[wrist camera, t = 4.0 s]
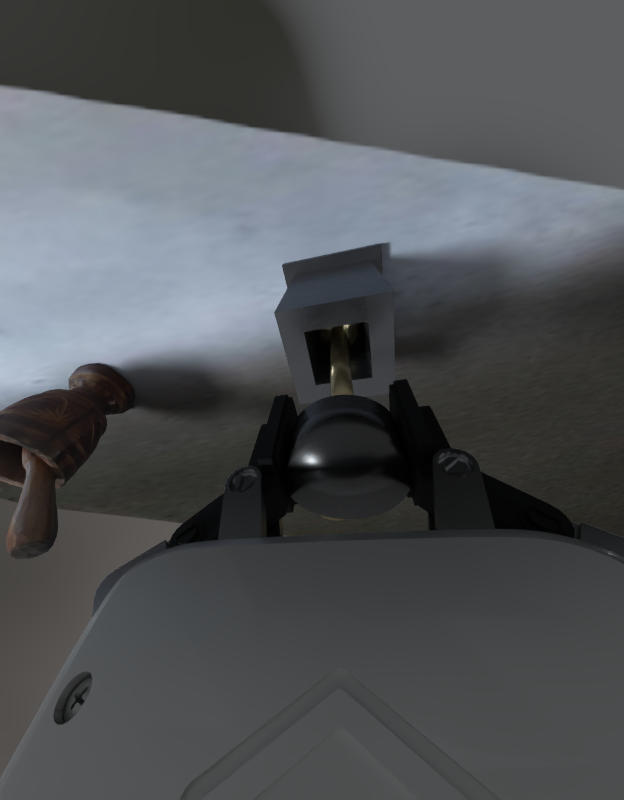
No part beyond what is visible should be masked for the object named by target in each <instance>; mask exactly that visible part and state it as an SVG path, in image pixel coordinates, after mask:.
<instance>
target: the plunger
mask: <svg viewBox="0 0 624 800" xmlns="http://www.w3.org/2000/svg"><path fill="white" fill-rule="evenodd" d="M319 335H320V339H321V341H322V342H323V344H324V345H325V346H327V347H328V348H330V349H331V377H330V396H329V397H326V398H322V399H320V400H318V401H316V402H314V403H312V404H310V405H309V406H308V407H306V408H305V409H304V410H303V411H302V412H301V413H300V415H299V416H298V417H297V419H296V421H295V423H294V427H293V432H292V438H291V443H290V449H289V455H288V461H287V466H286V472H285V486H286V489H287V491H288V493H289V495H290V496H291V497H292V499H293V500H294V501H295V502H296V503H298V504H299V505H300V506H302V507H303V508H305V509H307V510H309V511H311V512H313V513H316V514H318V515H322V516H325V517H330V518H336V519H361V518H367V517H371V516H375V515H378V514H381V513H384V512H386V511H388V510H390V509H392V508H394V507H395V506H396V505H398V504H399V503H400V502H401V501H402V500H403V499H404V498H405V497H406V496H407V494H408V492H409V491H410V488H411V484H412V474H411V471H410V468H409V464H408V461H407V458H406V454H405V451H404V448H403V444H402V441H401V438H400V434H399V431H398V428H397V424H396V421H395V419H394V417H393V416H392V414H391V413H390V412H389V411H388V410H387V409H386V408H385V407H384V406H382V405H381V404H380V403H378V402H376V401H374V400H372V399H369V398H366V397H362V396H357V395H354V393H353V385H352V376H351V368H350V359H349V351H348V347H350V346H351V345H352V344H353V343H354V342H355V340H356V338H357V335H358V327H357V323H355V324H349V325H343V326H337V327H331V328H325V329H319Z"/></svg>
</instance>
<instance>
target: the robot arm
mask: <svg viewBox="0 0 624 800" xmlns="http://www.w3.org/2000/svg"><path fill="white" fill-rule="evenodd" d="M389 403H390V413H391V414H392V416H393V417H394V419H395V421H396V424H397V428H398V431H399V434H400V438H401V441H402V444H403V448H404V451H405V454H406V458H407V461H408V464H409V468H410V471H411V474H412V484H411V488H410V491H409V492H408V494H407V497H412V498H413V501H414V505H419V507H421V508H422V509H424V510H426V511H427V514H428V531H403V532H376V533H352V534H328V535H304V536H283V525H282V517H283V516H285V515H286V513H290V512H293V508H294V505H295V504H298V503H296V502H295V501H294V500H293V499H292V497H291V496H290V495H289V493H288V491H287V489H286V486H285V472H286V466H287V461H288V455H289V449H290V443H291V438H292V432H293V427H294V423H295V421H296V419H297V417H298V416H297V412H296V409H295V405H294V402H293V399H292V397H288V395H281V396H275V399H274V402H273V406H272V409H271V412H270V416H269V419H268V422H267V424H263V425H262V426H261V428H260V431H259V434H258V437H257V440H256V443H255V447H254V450H253V453H252V456H251V459H250V462H249V465H248V466H244V467H241V468H238V469H237V470H235V471H234V472H233V473H232V474H231V475H230V476H229V477H228V479H227V480H226V483H225V489H224V493H223V494H222V495H221V496H219V497H218V498H217V499H215V500H214V501H213V502H211V503H210V504H209V505H207V506H206V507H205V508H203V509H202V510H201V511H199V512H198V513H197V514H195V515H194V516H193V517H191V518H190V519H189V520H187V521H186V522H185V523H183V524H182V525H181V526H180V527H179V528H178V529H177V530H176V531H175V532H174V534H173V535H172V537H171V539H170V541H168V542H167V541H166V540H164V541H162V542H161V543H159V544H157V545H156V546H154V547H152V548H151V549H149V550H147V551H146V552H144V553H143V554H141V555H139V556H137V557H136V558H134V559H133V560H131V561H129V562H128V563H126V564H124V565H123V566H121V567H119V568H118V569H116V570H114V571H113V572H112V573H111V574H109V575H108V576H107V577H106V578H105V579H104V580H103V581H102V583H101V584H100V586H99V587H98V589H97V591H96V594H95V597H94V606H93V615H92V619H91V621H90V622H89V624H88V625H87V627H86V628H85V631H84V632H83V634H82V635H81V637H80V639H79V641H78V642H77V644H76V646H75V647H74V649H73V651H72V652H71V654H70V656H69V657H68V659H67V661H66V663H65V664H64V666H63V668H62V669H61V671H60V673H59V675H58V676H57V678H56V680H55V682H54V684H53V685H52V687H51V689H50V691H49V692H48V694H47V696H46V698H45V699H44V701H43V703H42V705H41V707H40V708H39V710H38V712H37V714H36V716H35V718H34V719H33V721H32V723H31V724H30V726H29V728H28V730H27V732H26V734H25V735H24V737H23V739H22V741H21V743H20V744H19V746H18V748H17V750H16V751H15V753H14V755H13V757H12V759H11V760H10V762H9V764H8V766H7V768H6V769H5V771H4V773H3V775H2V776H1V778H0V800H624V538H623V537H620V536H618V535H615V534H613V533H610V532H607V531H605V530H602V529H599V528H597V527H594V526H591V525H589V524H586V523H583V522H581V524H580V525H578V524H576V523H573V522H571V521H570V520H569V519H568V518H567V516H566V515H564V514H563V513H562V512H561V511H560V510H558V509H557V508H555V507H553V506H552V505H550V504H548V503H546V502H544V501H541V500H539V499H537V498H535V497H533V496H531V495H529V494H527V493H525V492H522V491H520V490H518V489H516V488H514V487H512V486H510V485H508V484H505V483H503V482H501V481H499V480H497V479H495V478H493V477H491V476H489V475H486V474H484V473H482V472H481V470H480V466H479V463H478V461H477V460H476V459H475V458H474V457H473V455H471V454H469V453H468V452H466V451H463V450H461V449H456V448H451V447H450V445H449V443H448V441H447V439H446V437H445V435H444V433H443V431H442V429H441V427H440V425H439V423H438V421H437V419H436V417H435V415H434V413H433V411H432V409H431V407H430V406H421V407H419V406H418V404H417V402H416V399H415V397H414V395H413V393H412V390H411V388H410V386H409V383H408V381H407V379H404V380H396V381H393V384H390V385H389Z"/></svg>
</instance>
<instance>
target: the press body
mask: <svg viewBox="0 0 624 800" xmlns="http://www.w3.org/2000/svg"><path fill="white" fill-rule="evenodd" d="M282 267H283V271H284V275H285V280H286V284H287V290H286V292H285V294H284V296H283V298H282V299H281V301H280V303H279V305H278V307H277V309H276V310H275V312H274V313H275V317H276V320H277V324H278V328H279V331H280V335H281V338H282V342H283V346H284V349H285V353H286V357H287V360H288V364H289V368H290V371H291V375H292V378H293V382H294V386H295V389H296V393H297V397H298V400H299V404H307V403H314V402H316V401H318V400H320V399H322V398H326V397H329V396H330V377H331V349H330V348H328V347H327V346H325V345H324V344H323V342H322V341H321V339H320V335H319V329H325V328H331V327H337V326H343V325H349V324H355V323H357V327H358V335H357V338H356V340H355V342H354V343H353V344H352V345H351V346H350V347H348V351H349V359H350V368H351V376H352V385H353V393H354V395H357V396H362V397H364V396H372V395H380V394H389V385H390V384H393V381H395V342H394V291H393V289H392V288H391V287H390V285H389V284H388V283H387V281H386V280H385V279H384V277H383V276H382V257H381V244H375V245H370V246H365V247H361V248H356V249H351V250H346V251H342V252H337V253H332V254H328V255H323V256H318V257H313V258H309V259H304V260H299V261H294V262H290V263H285V264H283V265H282Z"/></svg>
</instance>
